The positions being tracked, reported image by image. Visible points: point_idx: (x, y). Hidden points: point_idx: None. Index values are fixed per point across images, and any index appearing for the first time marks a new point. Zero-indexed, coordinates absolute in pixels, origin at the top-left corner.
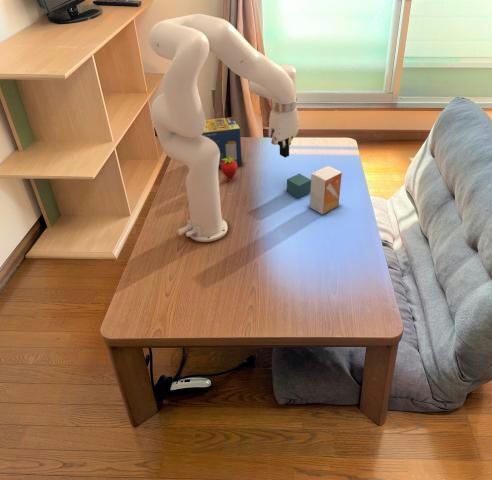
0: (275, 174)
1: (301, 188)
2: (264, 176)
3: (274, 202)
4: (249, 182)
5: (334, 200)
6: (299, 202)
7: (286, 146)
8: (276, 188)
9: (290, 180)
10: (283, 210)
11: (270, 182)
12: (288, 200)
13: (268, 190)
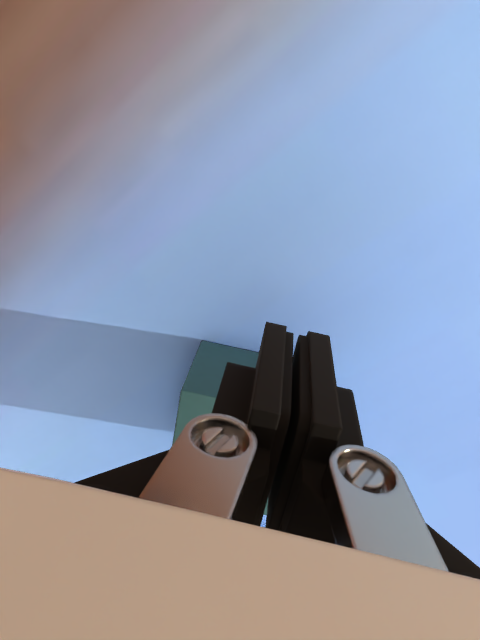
0: (355, 127)
1: None
2: (271, 66)
3: (58, 347)
4: (111, 25)
5: None
6: (158, 450)
7: (269, 521)
8: (188, 265)
9: (183, 420)
10: (41, 424)
11: (225, 177)
12: (132, 397)
13: (130, 236)
